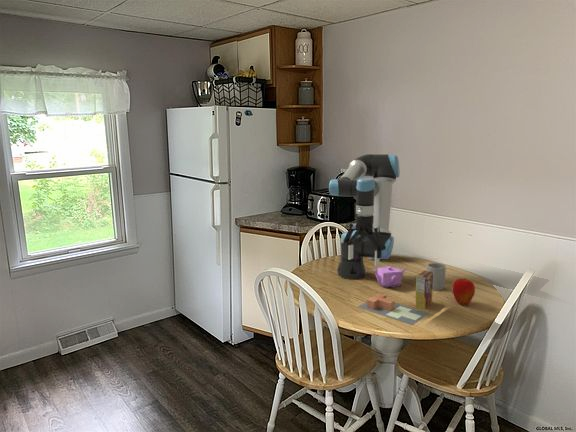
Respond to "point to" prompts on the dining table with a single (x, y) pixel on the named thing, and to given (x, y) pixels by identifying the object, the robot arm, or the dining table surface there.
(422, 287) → the candy box
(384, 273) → the teapot
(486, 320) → the dining table surface
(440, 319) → the dining table surface
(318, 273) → the dining table surface
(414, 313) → the plate
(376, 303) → the t block
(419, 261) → the dining table surface
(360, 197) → the robot arm
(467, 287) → the apple
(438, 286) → the mug
